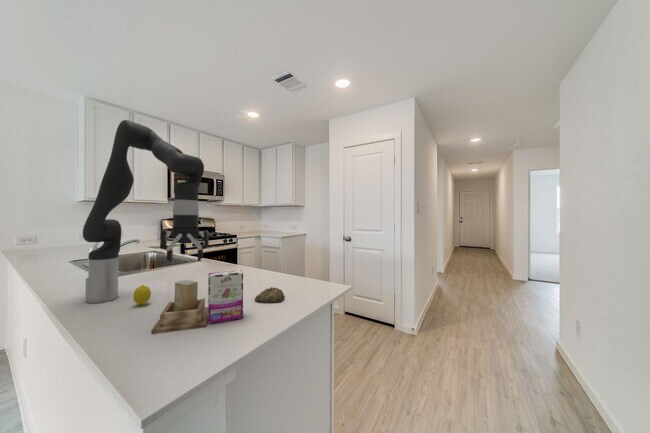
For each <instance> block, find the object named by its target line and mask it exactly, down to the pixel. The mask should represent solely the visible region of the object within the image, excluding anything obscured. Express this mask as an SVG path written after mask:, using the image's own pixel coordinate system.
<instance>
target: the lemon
mask: <svg viewBox="0 0 650 433" xmlns="http://www.w3.org/2000/svg"><path fill="white" fill-rule="evenodd" d="M132 297H133V301H134V303H135V304H138V305H140V306H144V304H146V303H148V302H149V301H150V299H151V297H152V292H151V289H150V287H148V286H147V285H145V284H142V285H140V286H137V287H136V289H135V290H134V291H133V295H132Z"/></svg>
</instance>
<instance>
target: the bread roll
mask: <svg viewBox="0 0 650 433" xmlns="http://www.w3.org/2000/svg"><path fill="white" fill-rule="evenodd" d="M285 298H286V297H285V294H284V292H283V290H282V289H280V288H278V287H272V286H271V287H270V288H268V287H267V288H265V289H264V290H263V291H261V292H260V293H259V294H257V295H256V296H255V298H254V301H255V302H256V303H263V304H276V303H277V304H278V303H281V302H283V301H285V300H284V299H285Z"/></svg>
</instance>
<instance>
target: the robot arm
mask: <svg viewBox="0 0 650 433" xmlns="http://www.w3.org/2000/svg"><path fill="white" fill-rule="evenodd" d="M130 147H131V148H135V149H138V150H144V151H149V152H151V153H152V155H153V156H154V158H156V160H158V161H159V162H162V163H163V164H164V165H165V166H166V167H167V169H168V170H169V171H170V172H172V173H173V174H176V175H179V176H185V177H186V176H187V177H186V180H185V181H181V182H177V183H175V185H174V196H173V198H174V200H173V207H172V208H173V209H172V229H171V230H170V231H169V230H165V229H164V230H162V231H161V234H160V243H159V249H160V250H165V251H166V261H168V262H169V263H172V262H173V261H174V250H173V248H174V247H175V246H176V245H177V244H193V245H194V246H195V247H196V248H197V249H198V250H197V262H201V260H202V259H203V257H204V249H207V248H208V247H209V246H210V245H209V244H210V243H209V230H202V231H201V230H199V208H200V207H199V188H200V184H201V181H202V179H203V175H204V172H205V164H204V162H203V160H202V158H200V157H198V156H194V155H190V154H185V153H184V152H183V151H182V150H180V149H179V148H178V147H176V146H175V145H173V144H171V143H169V142H167V141H165V140H164V139H163V138H162V137H160V136H159V135H158V134H157V133H156V132H155V131H154V130H153V129H151V128H150V127H148V126H145V125H143V124H140V123H137V122H134V121H131V120H128V119H123V120H121V121H120V122H119V124H118V126H117V128H116V132H115V134H114V139H113V144H112V148H111V153H110V157H109V160H108V163H107V165H106V166H107V167H106V168H105V172H104V174H103V177H102V180H101V182H100V186H99V188H98V192H97V195H96V198H95V200H94V203H93V205H92V208H91V210H90V212H89V214H88V216H87V219H86V220H85V222H84V225H83V229H82V238H83V239H84V241H85V242H86V243H102V242H103V244H102V245H101V246H100V247H98V248H96V249H93V250H92V251H90V252H88V277H87V278H86V279H85V294H84V295H85V304H86V303H90V304H94V303H95V304H97V303H98V304H99V303H106V302H110V301H114V300H116V299H117V298H119V256H120V255H119V254H120V251H121V245H122V244H121V243H122V226H121V223H120V222H119V220H117V219H113V218H111V219H110V218H109V219H107V217H108V215H109V214H110V213H111V212H112V211H113V210H114V209H115V208H116V207H117V206H119V205H120V204H122V203H123V202H124V201H125V200H126V199H127V198H128V197H129V195H130V194H131V190H132V188H133V186H134V181H135V180H134V175H133V173H132V169H131V168H130V165H129V162H128V151H129V148H130ZM170 236H172V238H173V240H172V241H171V242H170V243H169V245H167V240H168V238H169V237H170ZM199 236H201V237H202V238H203V244H201V242H200V241H199V239H198V237H199Z"/></svg>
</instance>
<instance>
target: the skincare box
mask: <svg viewBox="0 0 650 433" xmlns="http://www.w3.org/2000/svg"><path fill="white" fill-rule="evenodd" d="M198 284H199V282H198V281H195V280H190V279H183V280H180V281H176V282H174V312H175V311H185V310H195V309H197V299H198V291H199V290H198V288H199V287H198Z"/></svg>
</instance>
